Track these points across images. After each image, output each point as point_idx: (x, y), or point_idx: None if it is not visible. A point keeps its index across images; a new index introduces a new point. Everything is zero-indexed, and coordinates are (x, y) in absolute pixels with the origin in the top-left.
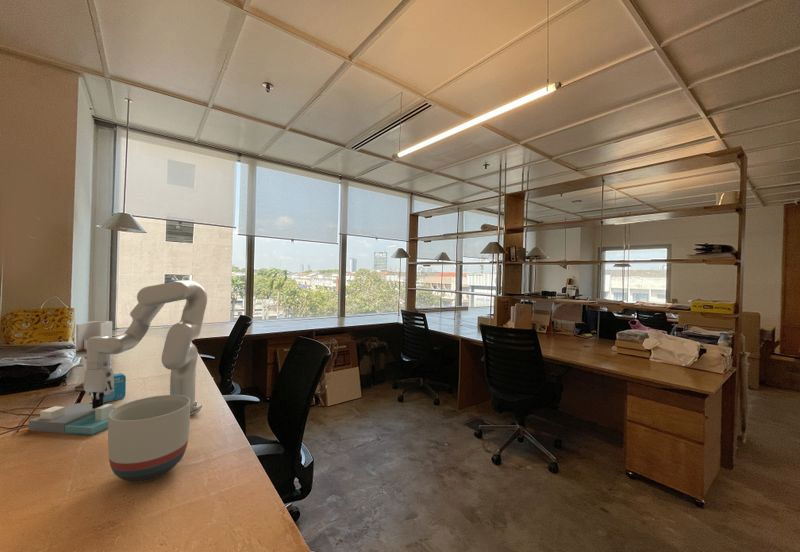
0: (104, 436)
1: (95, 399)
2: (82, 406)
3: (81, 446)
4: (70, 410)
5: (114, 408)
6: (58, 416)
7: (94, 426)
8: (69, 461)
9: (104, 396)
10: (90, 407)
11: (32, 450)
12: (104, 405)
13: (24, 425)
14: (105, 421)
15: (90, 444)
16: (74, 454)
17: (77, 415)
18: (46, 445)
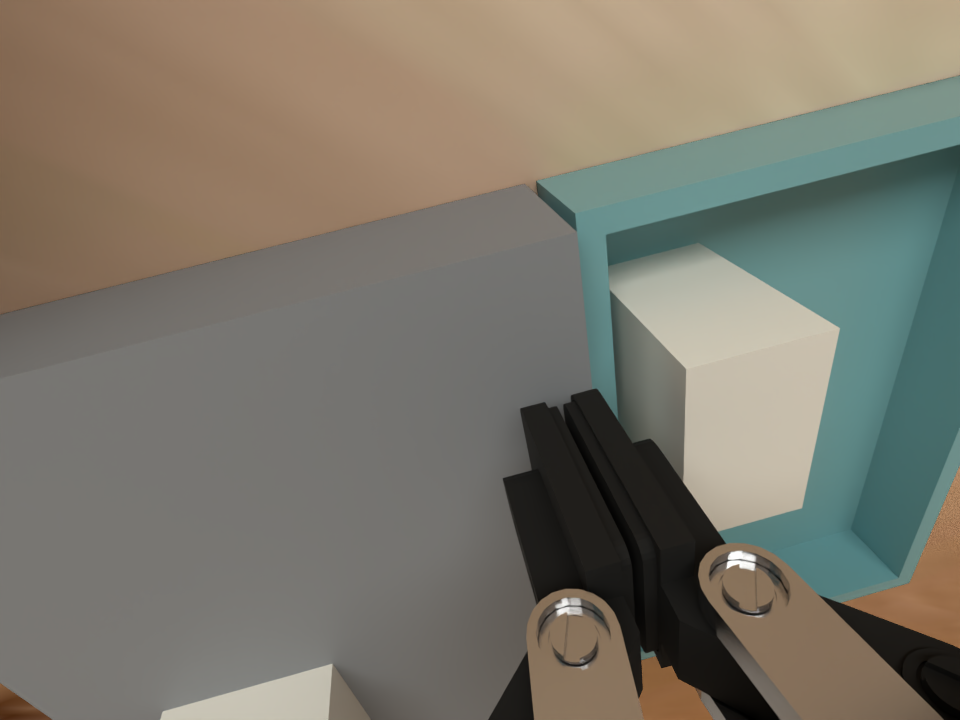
0: (956, 489)
1: (663, 657)
2: (125, 491)
3: (898, 592)
4: (205, 614)
5: (694, 209)
6: (359, 707)
7: (904, 567)
8: (957, 647)
9: (777, 562)
10: (341, 451)
11: (651, 706)
12: (708, 428)
13: (7, 705)
14: (932, 489)
15: (937, 564)
16: (930, 626)
17: (530, 611)
18: (665, 671)
